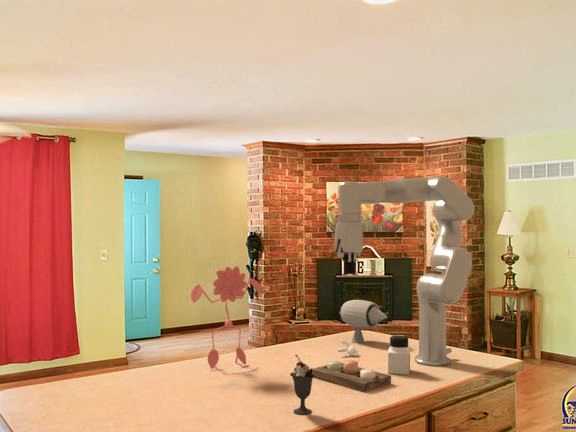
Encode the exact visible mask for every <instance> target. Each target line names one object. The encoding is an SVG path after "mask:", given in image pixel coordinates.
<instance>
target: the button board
mask: <svg viewBox="0 0 576 432" xmlns="http://www.w3.org/2000/svg"><path fill="white" fill-rule="evenodd" d="M341 363H342V369H341V370H337V371H333V370H330V369H327V364H326V365H322V366H318V367H314V368H312V373H315V376H314V377H313V379H318V380H321V381H325V382H329V383H331V384H335V385H338V386H342V387H344V388H349V389H350V390H351V389H352V390H355V391H359V392H362V393H366V392H370V391H372V390H376V389H379V388H383V387H386V386H390V385H391V384H392V374H388V373H383V372H380V371H375V379H371V380H366V379H363V378H360V371H361V370H363V369H365V368H363V367H359V366H358V374H355V375H348V374H344V373H343V362H341Z"/></svg>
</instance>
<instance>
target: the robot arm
mask: <svg viewBox="0 0 576 432" xmlns="http://www.w3.org/2000/svg"><path fill="white" fill-rule="evenodd" d="M337 194H338V195H337V196H338V197H337V198H338V199H337V200H338V202H337V204H338V205H337V207H338V208H337V209H338V211H337V213H338V214H337V215H338V217H337V218H338V219H337V220H338V222H336V226H335V230H334V238H333V239H334V240H333V241H334V242H333V243H334V244H333V250H334V252H335V253H337V254H336V255H337V257H340V258H341V259H342V262H343V268H344V269H343V274H345V275H354V274H355V266H356V265H355V263H356V262H357V261H356V260H357V258H358V257H359V256H361V255H362V251H363V250H364V232H363V226H362V205H374V204H381V203H382V204H383V203H388V204H407V203H417V202H430V201H431V202H432V201H433V205H432V212H433V215H434V217H435V220H436V222H437V224H438V235H437V238H436V240H435V241H436V242H435V244H434V247H433V249H432V252H431V255H430V259H429V265H430V268H432V270H434V271H436V272H440V273H444V275H443V274H439V273H438V274H437V273H431V272H430V273H424V274H423V275H421V276H420V277H419V278H418V279H417V282H416V295H417V299H418V314H419V315H418V316H419V317H418V339H419V340H418V355H415V356H414V361H415V362H416V363H417V364H421V365H426V366H446V365H449V364H451V358H450V357H449V356H448V354H451V353H452V350H453V349H452V348H451V347H447V309H446V305H445V304H455V303H456V302H458V301H459V300H460V299H461V297H462V295H463V293H464V290H465V287H466V284H467V281H468V279H469V276H470V273H471V270H472V266H473V259H472V255H471V253H470V252H469V251H468V250H467V249H466V248H464V247H461V244H462V241H463V230H462V227H461V224H460V222H464V221H468V220H470V219H471V218H472V217H473V216H474V214H475V205H474V202H473V200H472V199H471V197H470V196H468V194H466V192H465V191H464V190H463V189H462V188H461V187H460V186H459V185H458V184H457V183H456V182H455V181H454V180H452V179H451V178H450V177H447V176H444V175H443V176H442V175H440V176H430V177H429V176H427V177H410V178H409V177H407V178H395V179H390V180H383V181H363V182H359V181H341V182H340V183H339V184H338V193H337Z"/></svg>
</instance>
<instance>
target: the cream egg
mask: <svg viewBox="0 0 576 432" xmlns="http://www.w3.org/2000/svg"><path fill="white" fill-rule="evenodd" d="M375 372H376V371H375V370H374V369H369V368H364V369H363V370H361V371H360V378H363V379H366V380H371V379H375Z"/></svg>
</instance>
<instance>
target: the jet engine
mask: <svg viewBox="0 0 576 432" xmlns="http://www.w3.org/2000/svg"><path fill="white" fill-rule="evenodd" d="M340 317H341V320H342V321H343V322H344V323H345V324H347V325H349V326H351V327H355V330H354V333H353V336H352V340H351V343H355V344H364V343H365V338H364V336H363V332H362V329H374V328H376V327H378V325H379V323H380V322H381V321H383V320H385V319H387V318H389V317H388V316H387V315H386V314H385V313H384V312H382V310H381V309H380V306H379V305H378V303H376V302H373V301H369V300H365V299H353V300H348V301H345V302H344V303H343V304H342V306H341V308H340Z"/></svg>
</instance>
